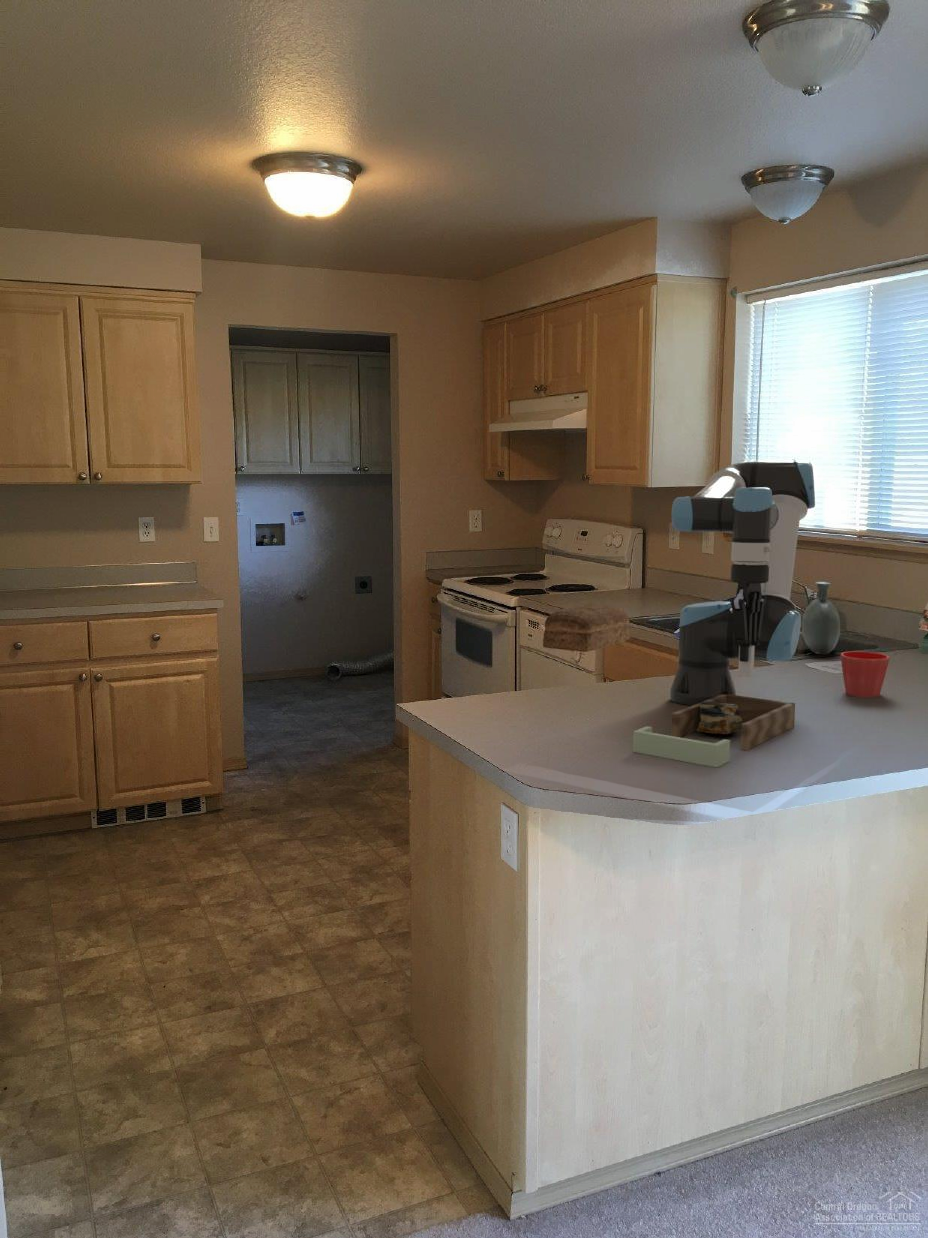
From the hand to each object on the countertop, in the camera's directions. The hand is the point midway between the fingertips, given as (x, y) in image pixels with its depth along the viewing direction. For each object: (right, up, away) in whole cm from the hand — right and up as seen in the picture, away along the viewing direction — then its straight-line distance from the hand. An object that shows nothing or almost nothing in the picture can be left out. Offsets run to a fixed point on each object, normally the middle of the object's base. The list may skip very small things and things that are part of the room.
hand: (745, 676), depth 209 cm
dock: (-18, -14, -21) cm, 31 cm away
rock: (-7, -13, -7) cm, 16 cm away
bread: (-20, +3, +107) cm, 109 cm away
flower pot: (+38, -7, +35) cm, 52 cm away
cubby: (-3, -11, -2) cm, 12 cm away
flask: (+47, +1, +90) cm, 102 cm away
